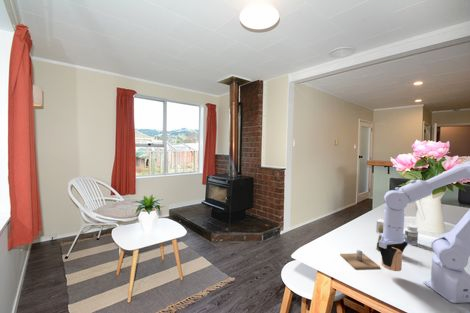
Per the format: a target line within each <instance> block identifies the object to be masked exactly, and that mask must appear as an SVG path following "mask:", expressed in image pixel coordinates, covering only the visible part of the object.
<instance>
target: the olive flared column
mask: <svg viewBox="0 0 470 313" xmlns="http://www.w3.org/2000/svg"><path fill="white" fill-rule="evenodd" d="M378 230H379V232H380V233H383V225H380V226H379V228H378ZM380 233H378V239H377V243H378V242H379V241H380V240H381V238H382V236H379V234H380ZM375 249H376V250H377V251H378V252H380V250H379V249H378V247H377V246H376V248H375Z"/></svg>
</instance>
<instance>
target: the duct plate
mask: <svg viewBox="0 0 470 313" xmlns="http://www.w3.org/2000/svg"><path fill="white" fill-rule="evenodd" d="M339 255H341V256H342V257H341V256H340V257H341V258H342V259H343V260H345V261H346V262H347V263H348V264H349V266H351V267H352V268H353V269H354V270H364V269H365V270H367V269H368V270H369V269H381V266H380V265H379V264H378V263H376V262H375V261H374V260H372V259H371V258H370V257H369V256H367V255H366V254H365V253H364V252H363V251H362V250H360V249H357V250H356V252H355V253H340V254H339Z"/></svg>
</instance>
